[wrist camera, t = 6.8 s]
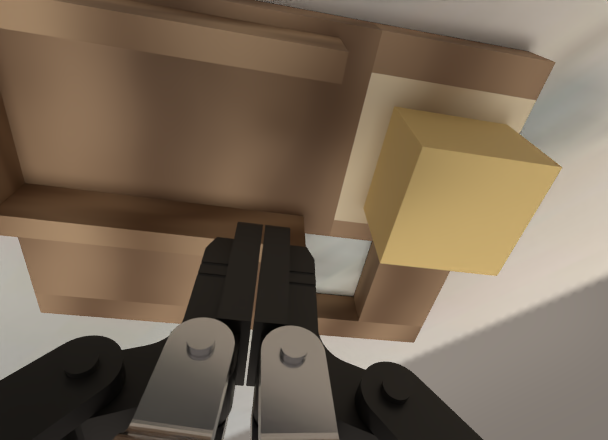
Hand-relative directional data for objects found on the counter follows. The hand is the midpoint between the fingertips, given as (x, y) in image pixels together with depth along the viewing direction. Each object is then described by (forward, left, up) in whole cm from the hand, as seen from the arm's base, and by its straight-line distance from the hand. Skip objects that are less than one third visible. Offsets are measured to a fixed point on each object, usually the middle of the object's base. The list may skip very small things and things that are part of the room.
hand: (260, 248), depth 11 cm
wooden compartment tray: (0, +3, -9) cm, 9 cm away
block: (-7, 0, -7) cm, 10 cm away
